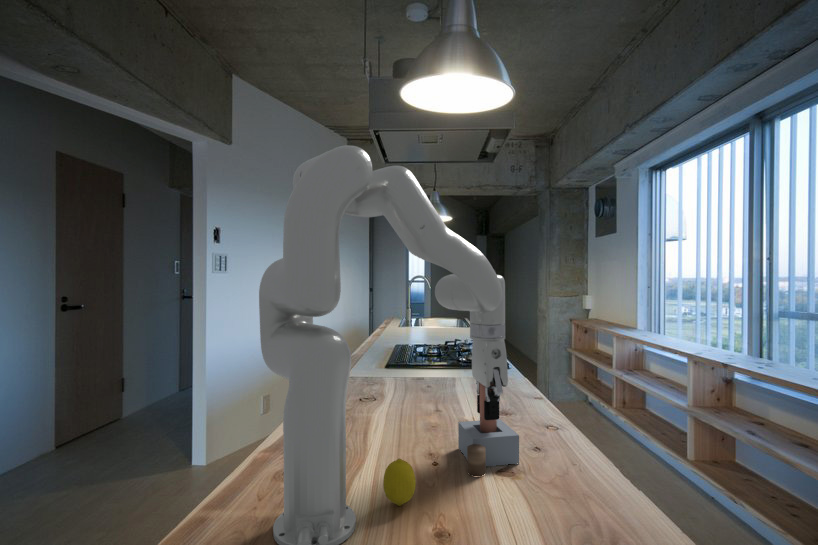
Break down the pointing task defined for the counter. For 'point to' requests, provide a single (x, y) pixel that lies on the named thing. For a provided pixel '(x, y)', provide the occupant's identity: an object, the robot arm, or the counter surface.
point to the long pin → (485, 425)
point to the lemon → (399, 482)
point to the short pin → (476, 460)
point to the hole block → (490, 442)
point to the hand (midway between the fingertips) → (488, 415)
